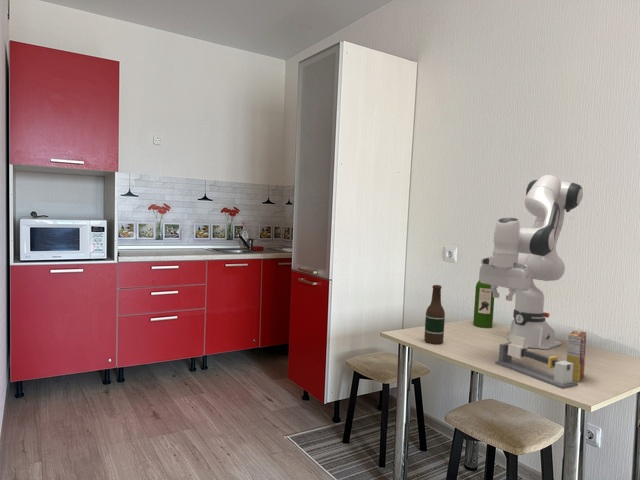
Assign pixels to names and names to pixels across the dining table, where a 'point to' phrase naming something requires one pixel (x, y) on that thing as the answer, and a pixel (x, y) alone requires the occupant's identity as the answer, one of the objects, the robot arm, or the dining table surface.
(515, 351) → the white rectangular block
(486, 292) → the wine bottle
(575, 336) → the candy box
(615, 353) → the dining table surface
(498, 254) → the robot arm
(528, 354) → the linear slide rail
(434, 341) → the beer bottle
